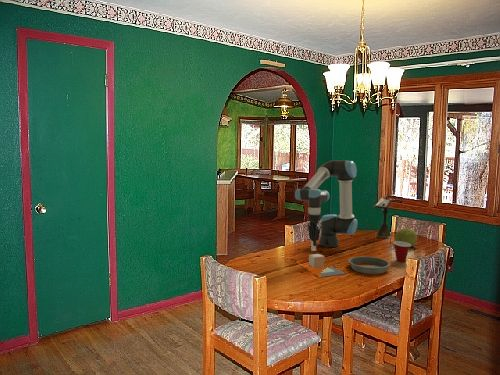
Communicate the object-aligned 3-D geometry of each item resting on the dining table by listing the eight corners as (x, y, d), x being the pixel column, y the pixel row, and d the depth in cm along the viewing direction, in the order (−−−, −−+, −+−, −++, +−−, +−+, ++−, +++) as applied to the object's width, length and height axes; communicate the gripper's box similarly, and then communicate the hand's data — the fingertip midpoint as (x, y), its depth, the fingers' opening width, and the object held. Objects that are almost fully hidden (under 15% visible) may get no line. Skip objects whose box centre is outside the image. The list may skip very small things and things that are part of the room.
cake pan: (396, 268, 262) (397, 261, 262) (376, 278, 245) (376, 270, 245) (362, 260, 280) (362, 253, 279) (340, 268, 263) (340, 261, 263)
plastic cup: (408, 264, 271) (409, 245, 270) (391, 261, 277) (391, 243, 275) (411, 259, 280) (412, 242, 279) (394, 257, 286) (395, 240, 284)
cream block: (309, 254, 266) (314, 257, 259) (318, 253, 268) (324, 256, 262) (308, 265, 267) (314, 268, 260) (318, 264, 269) (324, 267, 263)
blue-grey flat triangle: (291, 261, 276) (291, 260, 276) (315, 258, 283) (315, 258, 283) (319, 277, 245) (319, 277, 245) (345, 274, 252) (345, 273, 251)
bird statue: (383, 240, 333) (385, 196, 328) (370, 237, 343) (371, 194, 339) (396, 237, 342) (398, 194, 338) (382, 234, 353) (384, 192, 349)
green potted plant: (391, 247, 313) (390, 227, 318) (401, 251, 321) (400, 231, 327) (412, 244, 301) (410, 223, 307) (421, 248, 310) (420, 228, 316)
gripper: (303, 212, 269) (303, 248, 272) (314, 216, 257) (313, 253, 260) (314, 211, 272) (313, 247, 275) (325, 215, 260) (324, 252, 263)
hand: (313, 250), depth 267 cm, fingers closed
